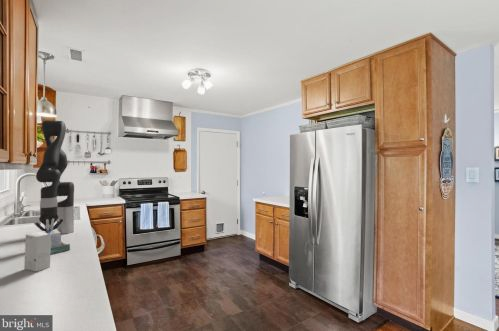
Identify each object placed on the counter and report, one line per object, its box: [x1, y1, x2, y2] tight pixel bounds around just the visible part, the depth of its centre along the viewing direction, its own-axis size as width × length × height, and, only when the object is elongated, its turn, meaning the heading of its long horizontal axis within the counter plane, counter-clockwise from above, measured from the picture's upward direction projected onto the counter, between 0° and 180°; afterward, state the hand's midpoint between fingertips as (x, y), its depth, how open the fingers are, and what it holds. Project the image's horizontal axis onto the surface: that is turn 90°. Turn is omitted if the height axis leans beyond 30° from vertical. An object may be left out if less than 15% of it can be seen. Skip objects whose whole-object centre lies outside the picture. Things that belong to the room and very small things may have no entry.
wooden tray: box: [50, 241, 71, 255], centre depth 142 cm, size 24×9×3 cm, turn 53°
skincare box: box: [23, 231, 51, 272], centre depth 114 cm, size 8×6×15 cm
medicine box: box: [48, 230, 62, 248], centre depth 138 cm, size 8×4×9 cm, turn 44°
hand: (49, 238), depth 143 cm, fingers closed
